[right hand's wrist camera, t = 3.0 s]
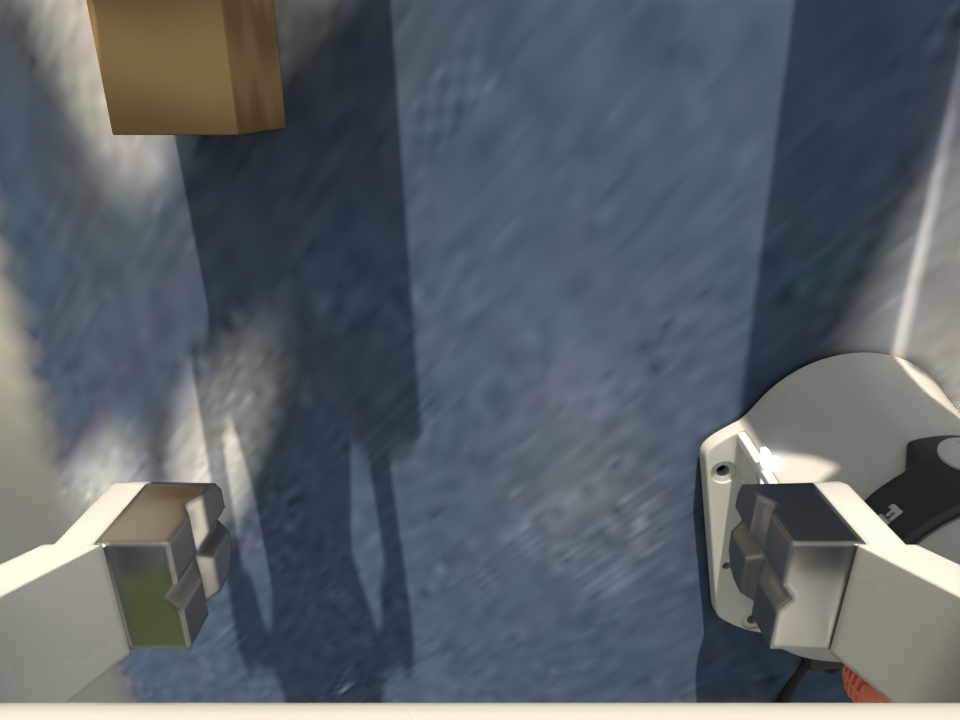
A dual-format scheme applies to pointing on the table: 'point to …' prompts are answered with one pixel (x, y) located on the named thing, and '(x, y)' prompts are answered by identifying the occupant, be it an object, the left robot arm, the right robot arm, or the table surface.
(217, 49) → the bar
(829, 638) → the right robot arm
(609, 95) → the table surface
